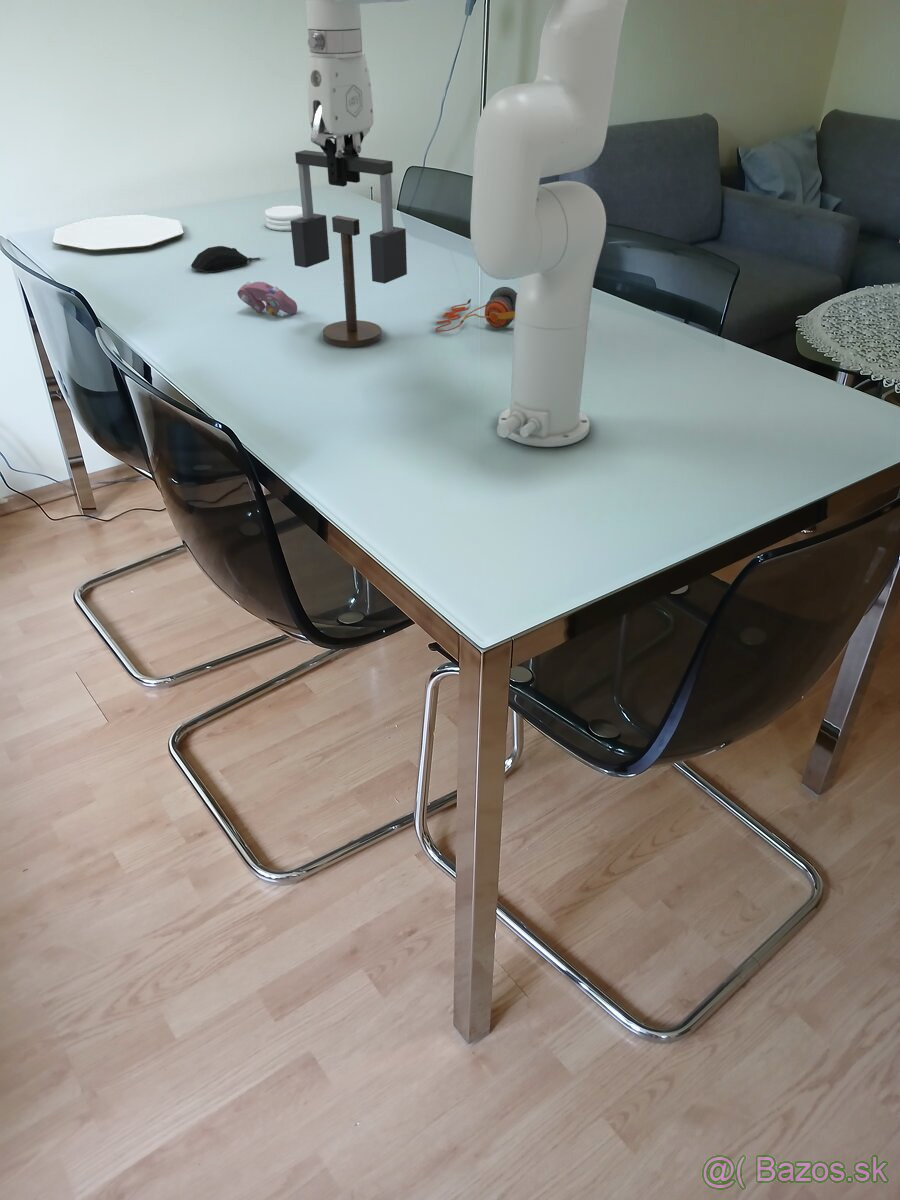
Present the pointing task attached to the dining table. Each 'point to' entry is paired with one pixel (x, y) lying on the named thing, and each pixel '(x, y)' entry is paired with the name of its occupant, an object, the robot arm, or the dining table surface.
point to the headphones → (489, 309)
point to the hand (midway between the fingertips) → (344, 182)
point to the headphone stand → (350, 296)
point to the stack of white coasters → (282, 217)
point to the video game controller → (266, 298)
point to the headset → (313, 227)
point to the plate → (117, 232)
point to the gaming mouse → (219, 259)
